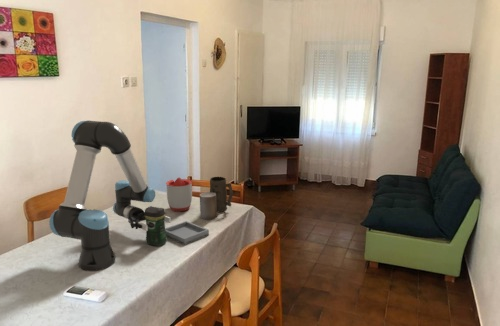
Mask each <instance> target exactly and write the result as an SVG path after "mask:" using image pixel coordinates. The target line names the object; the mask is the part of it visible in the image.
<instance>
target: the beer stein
mask: <svg viewBox="0 0 500 326" xmlns="http://www.w3.org/2000/svg"><path fill="white" fill-rule="evenodd" d="M209 185H210V186H209V192H213V193H216V204H217V205H216V206H217V213H221V212H225V211H227V209H228V207H232V202H231V201H232V199H233V196H234V191H233V187H232V183H231V182H228V183H227V179H226V178H225V177H224V176H223V177H222V176H214V177H213V176H212V177H210V179H209ZM227 189H229V190H227ZM227 191H229V193H228V192H227ZM228 195H229V196H228Z"/></svg>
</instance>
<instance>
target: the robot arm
mask: <svg viewBox="0 0 500 326" xmlns="http://www.w3.org/2000/svg"><path fill="white" fill-rule="evenodd" d="M71 140H72V143H74V145H73V146H74V149H76V150H75V151H76V153H75V157H74V160H73V165H72V168H71V173H70V177H69V181H68V185H67V189H66V193H65V197H64V200H63V202H62V203H60V204H59V206H58V209H55V210H53V212H52V213H51V215H50V217H49V219H48V220H49V228H50V230H51V232H52V233H53V234H54V235H57V236H58V237H61V238H70V239H75V240H80V242H81V245H80V246H81V250H80V254H79V258H78V266H79V268H80V269H81V270H84V271H88V272H89V271H92V272H93V271H100V270H104V269H107V268H108V267H110V266H112V265H113V264H114V263H115V262H116V255H115V252H114V250H113V248H112V246H111V244H110V243H111V240H110V226H109V220H108V219H109V218H108V217H109V216H108V215H107V213H106V212H105V211H103V210H100V209H95V208H94V209H87V208H86V206H85V203H86V199H87V195H88V191H89V188H90V187H89V186H90V183H91V178H92V173H93V171H94V165H95V161H96V158H97V157H96V156H97V155H98V154H100V153H101V152H102V151H101V150H102V148H107V149H108V150H109V151H110V153H111V154H112V155H114V156H115V158H116V159H117V162H118V164H119V165H120V168H121V170H122V172H123V173H124V176H125V178H126V179H127V180H126V179H125V180H124V179H123V180H118V181H116V182H115V184H114V185H115V186H114V188H115V190H114V192H115V200H116V201H115V203H114V204H113V207H112V211H113V212H114V214H116V215H117V216H119V217H122V218H124V219H127V220H128V221H127V223H129V225H130V228H131V229H135V230H138V229H141V230H143V231H144V232H145V231H148V227H147V225H146V224H145V223H143V221H146V219H145V210H143V209H142V208H140V207H138V206H135V205H132V201H135V202H140V203H141V202H142V203H152V202H153V201H155V198H156V191H155V189H154V188H151V187H148V184H147V182H146V180H145V177H144V176H143V174H142V171H141V168H140V166H139V165H138V163H137V162H138V161H136V158H135V156H134V154H133V151H132V149H131V148H132V144H131V142H130V140H129V138H128V136H127V135H126V134H125V132H124V131H123V130H122V129H121V127H119V126H118V125H116V124H114V123H112V122H111V121H98V120H97V121H96V120H82V121H79V122H77V123H76V124H75V125H74V126H73V127H72V130H71ZM165 222H166V223H168V224H171V217H169V216H167V213H166V212H165V218H164V223H165Z"/></svg>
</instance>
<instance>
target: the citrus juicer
mask: <svg viewBox="0 0 500 326" xmlns="http://www.w3.org/2000/svg"><path fill="white" fill-rule="evenodd" d="M192 183H193V182H192V180H190V179H186V178H181V177H177V178H176V179H175V180H174V179H170V180H169V181H166V182H165V184H166V197H167V198H166V200H167V203H168V207H169V208H170V211H173V212H183V211H188V210H189V209H190V208H191V204H192V199H193V189H192V187H193V186H192V185H193V184H192Z"/></svg>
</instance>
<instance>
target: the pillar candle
mask: <svg viewBox="0 0 500 326" xmlns="http://www.w3.org/2000/svg"><path fill="white" fill-rule="evenodd" d="M216 205H217V204H216V193H213V192H210V191H208V192H207V191H205V192H202V193H200V194H199V209H200V210H199V211H200V213H199V215H200V218H201V219H202V220H207V221H208V220H214V219H216V218H217V217H218V215H217V214H218V212H217V206H216Z"/></svg>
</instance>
